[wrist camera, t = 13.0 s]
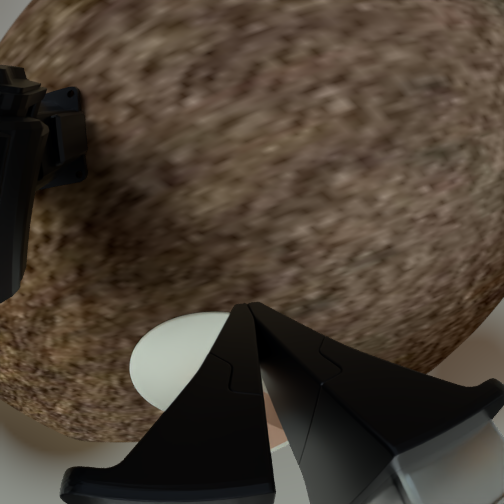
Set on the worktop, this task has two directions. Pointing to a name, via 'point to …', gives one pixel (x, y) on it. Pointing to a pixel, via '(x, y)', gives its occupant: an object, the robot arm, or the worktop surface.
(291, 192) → the worktop surface
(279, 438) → the pink white tall block
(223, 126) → the worktop surface
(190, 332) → the cream mat
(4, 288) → the robot arm
